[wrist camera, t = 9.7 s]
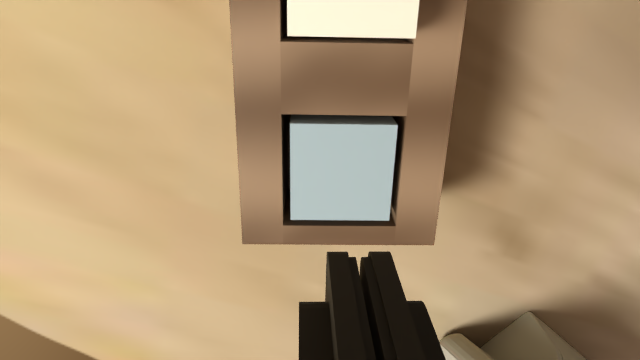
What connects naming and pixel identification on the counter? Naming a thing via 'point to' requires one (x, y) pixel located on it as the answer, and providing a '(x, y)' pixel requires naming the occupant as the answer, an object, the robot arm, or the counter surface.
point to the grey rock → (513, 344)
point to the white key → (352, 18)
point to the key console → (342, 99)
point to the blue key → (341, 166)
